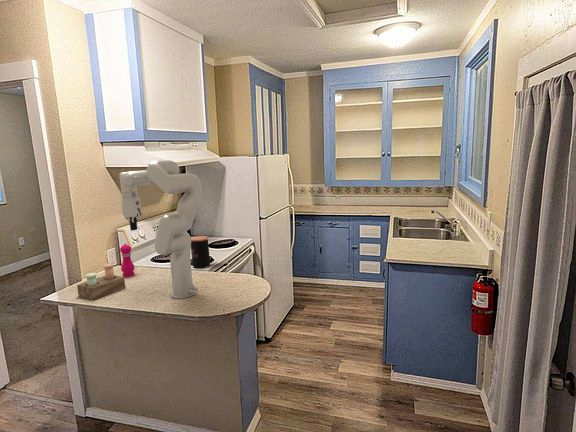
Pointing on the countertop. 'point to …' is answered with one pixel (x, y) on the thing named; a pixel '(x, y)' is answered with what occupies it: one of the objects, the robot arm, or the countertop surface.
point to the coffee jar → (200, 252)
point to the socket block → (101, 287)
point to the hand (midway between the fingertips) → (134, 229)
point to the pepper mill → (127, 261)
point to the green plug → (91, 279)
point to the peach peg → (109, 271)
